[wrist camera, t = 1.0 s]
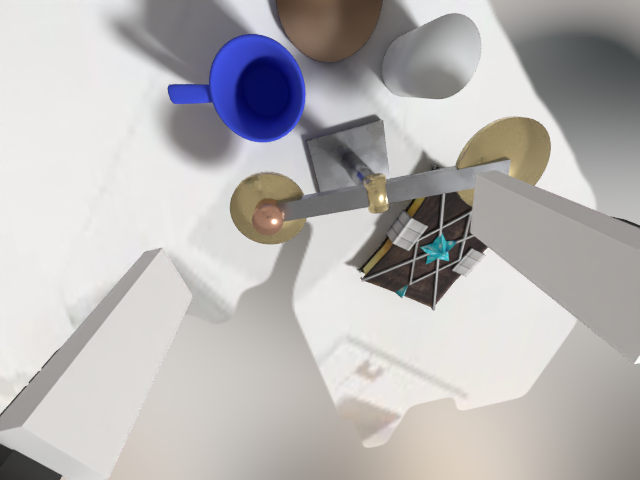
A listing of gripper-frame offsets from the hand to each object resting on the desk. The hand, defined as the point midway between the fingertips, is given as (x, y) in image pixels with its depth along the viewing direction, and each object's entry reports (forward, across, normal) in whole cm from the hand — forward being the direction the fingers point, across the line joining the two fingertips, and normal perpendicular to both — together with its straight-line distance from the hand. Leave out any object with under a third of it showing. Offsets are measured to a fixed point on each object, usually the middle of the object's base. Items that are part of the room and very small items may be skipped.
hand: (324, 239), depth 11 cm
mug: (+27, -5, +6) cm, 28 cm away
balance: (+27, +6, -4) cm, 28 cm away
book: (+28, +18, -21) cm, 39 cm away
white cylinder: (+27, +14, +5) cm, 31 cm away
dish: (+27, +6, +13) cm, 30 cm away
